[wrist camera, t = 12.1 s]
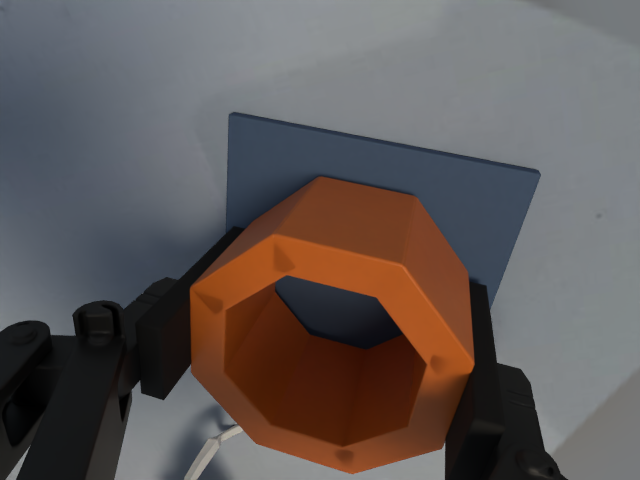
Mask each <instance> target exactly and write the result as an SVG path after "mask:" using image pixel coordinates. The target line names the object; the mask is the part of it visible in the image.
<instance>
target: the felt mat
mask: <svg viewBox="0 0 640 480" xmlns="http://www.w3.org/2000/svg"><path fill="white" fill-rule="evenodd" d="M321 176H322V177H327V178H332V179H337V180H341V181H346V182H351V183H356V184H361V185H365V186H370V187H375V188H380V189H384V190H389V191H394V192H399V193H404V194H408V195H413V196H415V197H417V198H418V199H419V201H420V202H421V204H422V205H423V207H424V208H425V210H426V211H427V213H428V214H429V215H430V217H431V218H432V220H433V221H434V223H435V224H436V226H437V227H438V229H439V230H440V231H441V233H442V234H443V236H444V237H445V239H446V240H447V242H448V243H449V245H450V246H451V248H452V249H453V250H454V252H455V253H456V255H457V256H458V258H459V259H460V261H461V262H462V264H463V265H464V267H465V268H466V269H467V271H468V276H469V282H474V283H478V284H482V285H486V286H487V292H488V300H489V307H490V309H491V306H492V304H493V301H494V298H495V296H496V293H497V290H498V288H499V285H500V282H501V280H502V277H503V274H504V272H505V269H506V266H507V264H508V261H509V258H510V256H511V253H512V250H513V248H514V245H515V242H516V240H517V237H518V235H519V232H520V229H521V227H522V224H523V221H524V219H525V216H526V213H527V211H528V208H529V205H530V203H531V200H532V197H533V195H534V192H535V189H536V187H537V184H538V181H539V179H540V176H541V174H540V172H539V171H538V170H535V169H530V168H525V167H519V166H514V165H509V164H504V163H498V162H493V161H488V160H483V159H477V158H472V157H467V156H462V155H456V154H451V153H446V152H441V151H435V150H430V149H425V148H420V147H414V146H409V145H404V144H399V143H393V142H388V141H383V140H378V139H372V138H367V137H362V136H357V135H351V134H346V133H341V132H336V131H330V130H325V129H320V128H315V127H309V126H304V125H299V124H294V123H289V122H283V121H278V120H273V119H268V118H262V117H257V116H252V115H247V114H241V113H236V112H234V113H232V114H229V130H228V169H227V208H226V233H227V232H228V231H229V230H230V229H231V228H232V227H233V226H236V227H240V228H245V229H246V228H247V227H248V226H249V225H250V224H251V223H252V222H253V221H254V220H255V219H257V218H258V217H260V216H261V215H263V214H264V213H266V212H267V211H269V210H270V209H272V208H273V207H275V206H276V205H277V204H279V203H280V202H282V201H283V200H285V199H286V198H288V197H289V196H291V195H292V194H294V193H295V192H296V191H298V190H299V189H301V188H302V187H304V186H305V185H307V184H308V183H310V182H311V181H313V180H314V179H315V178H317V177H321ZM275 292H276V294H277V295H278V296H279V297H280V299H281V300H282V301H283V302H284V303H285V305H286V306H287V307H288V308H289V310H290V311H291V312H292V313H293V314H294V316H295V317H296V318H297V319H298V321H299V322H300V323H301V324H302V325H303V327H304V328H305V329H306V330H307V332H308V333H309V334H310V335H313V336H317V337H321V338H324V339H328V340H332V341H336V342H339V343H343V344H347V345H350V346H354V347H358V348H361V349H365V350H367V349H370V348H372V347H374V346H377V345H379V344H381V343H384V342H386V341H388V340H391V339H393V338H395V337H398V336H400V335H402V334H403V332H402V331H401V330H400V328H399V327H398V326H397V324H396V323H395V322H394V320H393V319H392V318H391V316H390V315H389V314H388V312H387V311H386V310H385V308H384V307H383V306H382V304H381V303H380V302H379V300H378V299H377V298H376V297H372V296H368V295H364V294H360V293H356V292H352V291H348V290H344V289H340V288H336V287H332V286H328V285H324V284H320V283H316V282H312V281H308V280H304V279H300V278H296V277H292V276H288V275H286V276H284V277H283V278H281V279H279V280H278V281H276V283H275Z"/></svg>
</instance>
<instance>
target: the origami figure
mask: <svg viewBox="0 0 640 480" xmlns="http://www.w3.org/2000/svg"><path fill="white" fill-rule="evenodd" d="M242 431H243V429H242V428H241V427H240V426H239V425H234V426H233V427H231V428H229V429H228V430H226V431H224V432H223V433H221V434H219V435H218V436H216V437H212V438H209V439H208V440H207V442H206V443H205V445H204V446H203V448H202V450H201V451H200V453H199V454H198V456H197V457H196V459H195V461H194V462H193V464H192V465H191V467H190V469H189V471H188V473H187V474H186V475H185V478H184V480H197V479H198V477H199V476H200V474H201V473H202V471H203V470H204V469H205V467H206V466H207V464H208V463H209V461H210V460H211V459H212V457H213V456H214V454H215V453H216V451H217V450H218V449H219V447H220V445H221V442H222V441H224V440H226V439H228V438H230V437H232V436H234V435H236V434H238V433H240V432H242Z"/></svg>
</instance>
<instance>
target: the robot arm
mask: <svg viewBox="0 0 640 480" xmlns="http://www.w3.org/2000/svg"><path fill="white" fill-rule="evenodd" d="M244 230H245V228H240V227H236V226H233V227H232V228H231V229H230V230H229V231H228V232H227V233H226V234H225V235H224V236H223V237H222V238H221V239H220V240H219V241H218V242H217V243H216V244H215V245H214V246H213V247H212V248H211V249H210V250H209V251H208V252H207V253H206V254H205V255H204V256H203V257H202V258H201V259H200V260H199V261H198V262H197V263H196V264H195V265H194V266H192V267H191V268H190V269H189V270H188V271H187V272H186V273H185V274H184V275H183V276H182V277H181V278H180V279H179V280H176V279H172V278H168V277H166V278H164V279H161V280H159V281H157V282H155V283H153V284H152V285H151V286H149V287H148V288H147V289H146V290H145V291H144V293H143V294H141V295H140V296H138V297H137V298H136V300H134V301H133V302H132V303H131V304H130V305H128V306H127V307H126V308H125V309H124V310H123V308H122V307H121V306H120V305H119V304H117V303H115V302H113V301H104V300H103V301H94V302H91V303H88V304H85V305H83V306H81V307H80V308H78V309H77V310H76V311H75V312H74V313H73V315H72V316H73V321H74V327H75V333H76V336H63V335H51V333H50V328H49V326H48V325H47V324H46V323H44V322H40V321H23V322H18V323H15V324H13V325H10V326H8V327H7V328H5V329H4V330H2V331H1V332H0V480H5V479H6V478H7V477H8V475H9V474H10V473H11V471H12V470H13V468H14V467H15V466H16V464H17V463H18V461H19V460H20V459H21V457H22V456H23V455H24V453H25V452H26V450H27V449H28V448H29V446H30V445H31V446H30V448H29V450H28V453H27V455H26V457H25V460H24V462H23V464H22V467H21V469H20V472H19V474H18V476H17V479H16V480H114V478H115V473H116V469H117V465H118V460H119V456H120V451H121V447H122V443H123V438H124V434H125V429H126V425H127V421H128V416H129V412H130V407H131V403H132V389H133V388H134V386H135V385H136V384H137V383H138V382H139V381H140V383H141V393H142V394H146V395H149V396H152V397H155V398H158V399H162V400H164V399H165V398H166V397H167V395H168V394H169V393H170V391H171V390H172V389H173V387H174V386H175V385H176V383H177V382H178V381H179V379H180V378H181V377H182V375H183V374H184V372H185V371H186V370H187V368H188V367H189V366H190V364H191V327H190V288H191V286H192V285H193V283H194V282H195V281H196V280H197V279H198V278H199V277H200V276H201V275H202V274H203V273H204V272H205V271H206V270H207V269H208V268H209V267H210V266H211V265H212V264H213V263H214V261H215V260H216V259H217V258H218V257H219V256H220V255H221V254H222V253H223V252H224V251H225V250H226V249H227V248H228V247H229V246H230V245H231V244H232V243H233V242H234V241H235V239H236V238H237V237H238V236H239V235H240V234H241V233H242V232H243V231H244ZM469 290H470V304H471V319H472V333H473V347H474V362H475V365H474V367H473V370H472V372H471V373H470V376H469V379H468V381H467V384H466V386H465V389H464V392H463V394H462V397H461V400H460V402H459V405H458V407H457V410H456V413H455V415H454V418H453V420H452V423H451V426H450V428H449V431H448V434H447V436H446V439H445V480H568V479H566V478H565V477H564V476H563V475H561V474H560V471H559V468H558V466H557V464H556V462H555V461H554V460H553V458H552V457H551V456H550V455H549V454H548V453H547V452H545V449H544V444H543V439H542V435H541V430H540V426H539V421H538V416H537V412H536V410H535V402H534V399H533V393H532V389H531V384H530V382H529V380H528V379H527V377H526V376H525V374H524V373H523V372H522V370H521V369H518V368H515V367H511V366H507V365H503V364H499V363H497V360H496V352H495V345H494V337H493V330H492V322H491V315H490V307H489V300H488V292H487V286H486V285H482V284H478V283H474V282H469Z"/></svg>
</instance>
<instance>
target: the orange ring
mask: <svg viewBox="0 0 640 480" xmlns="http://www.w3.org/2000/svg"><path fill="white" fill-rule="evenodd" d="M286 275H288V276H292V277H296V278H300V279H304V280H308V281H312V282H316V283H320V284H324V285H328V286H332V287H336V288H340V289H344V290H348V291H352V292H356V293H360V294H364V295H368V296H372V297H376V298H377V299H378V300H379V302H380V303H381V304H382V306H383V307H384V308H385V310H386V311H387V312H388V314H389V315H390V316H391V318H392V319H393V320H394V322H395V323H396V324H397V326H398V327H399V328H400V330H401V331H402V332H403V334H402V335H400V336H398V337H395V338H393V339H391V340H388V341H386V342H384V343H381V344H379V345H377V346H374V347H372V348H370V349H367V350H365V349H361V348H358V347H354V346H350V345H347V344H343V343H339V342H336V341H332V340H328V339H324V338H321V337H317V336H313V335H310V334H309V333H308V332H307V330H306V329H305V328H304V327H303V325H302V324H301V323H300V322H299V321H298V319H297V318H296V317H295V316H294V314H293V313H292V312H291V311H290V310H289V308H288V307H287V306H286V305H285V303H284V302H283V301H282V300H281V299H280V297H279V296H278V295H277V294H276V292H275V283H276V281H278V280H279V279H281V278H283V277H284V276H286ZM190 327H191V373H192V375H193V376H194V377H195V378H196V379H197V380H198V381H199V382H200V383H201V384H202V386H203V387H204V388H205V389H206V390H207V391H208V392H209V393H210V394H211V395H212V396H213V398H214V399H215V400H216V401H217V402H218V403H219V404H220V405H221V406H222V407H223V408H224V410H225V411H226V412H227V413H228V414H229V415H230V416H231V417H232V418H233V419H234V420H235V421H236V423H237V424H238V425H239V426H240V427H241V428H242V429H243V430H244V431H245V432H246V433H247V435H248V436H249V437H250V438H251V439H252V440H253V441H254V442H255V443H256V444H259V445H262V446H265V447H268V448H271V449H274V450H277V451H281V452H284V453H287V454H290V455H293V456H296V457H299V458H303V459H306V460H309V461H312V462H315V463H318V464H321V465H324V466H328V467H331V468H334V469H337V470H340V471H343V472H346V473H350V474H354V473H358V472H361V471H365V470H369V469H372V468H376V467H379V466H383V465H386V464H390V463H393V462H397V461H400V460H404V459H408V458H411V457H415V456H418V455H422V454H425V453H429V452H432V451H436V450H440V449H442V447H443V446H444V443H445V439H446V436H447V434H448V431H449V428H450V426H451V423H452V420H453V418H454V415H455V413H456V410H457V407H458V405H459V402H460V400H461V397H462V394H463V392H464V389H465V386H466V384H467V381H468V379H469V376H470V373H471V372H472V370H473V367H474V365H475V362H474V347H473V333H472V319H471V304H470V290H469V276H468V271H467V269H466V268H465V267H464V265H463V264H462V262H461V261H460V259H459V258H458V256H457V255H456V253H455V252H454V250H453V249H452V248H451V246H450V245H449V243H448V242H447V240H446V239H445V237H444V236H443V234H442V233H441V231H440V230H439V229H438V227H437V226H436V224H435V223H434V221H433V220H432V218H431V217H430V215H429V214H428V213H427V211H426V210H425V208H424V207H423V205H422V204H421V202H420V201H419V199H418V198H417V197H415V196H413V195H408V194H404V193H399V192H394V191H389V190H384V189H380V188H375V187H370V186H365V185H361V184H356V183H351V182H346V181H341V180H337V179H332V178H327V177H322V176H321V177H317V178H315V179H314V180H313V181H311V182H310V183H308V184H307V185H305V186H304V187H302V188H301V189H299V190H298V191H296V192H295V193H294V194H292V195H291V196H289V197H288V198H286V199H285V200H283V201H282V202H280V203H279V204H277V205H276V206H275V207H273V208H272V209H270V210H269V211H267V212H266V213H264V214H263V215H261V216H260V217H258V218H257V219H255V220H254V221H253V222H252V223H251V224H250V225H249V226H248V227H247V228H246V229H245V230H244V231H243V232H242V233H241V234H240V235H239V236H238V237H237V238H236V239H235V241H234V242H233V243H232V244H231V245H230V246H229V247H228V248H227V249H226V250H225V251H224V252H223V253H222V254H221V255H220V256H219V257H218V258H217V259H216V260H215V261H214V263H213V264H212V265H211V266H210V267H209V268H208V269H207V270H206V271H205V272H204V273H203V274H202V275H201V276H200V277H199V278H198V279H197V280H196V281H195V282H194V283H193V285H192V286H191V288H190Z"/></svg>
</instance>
